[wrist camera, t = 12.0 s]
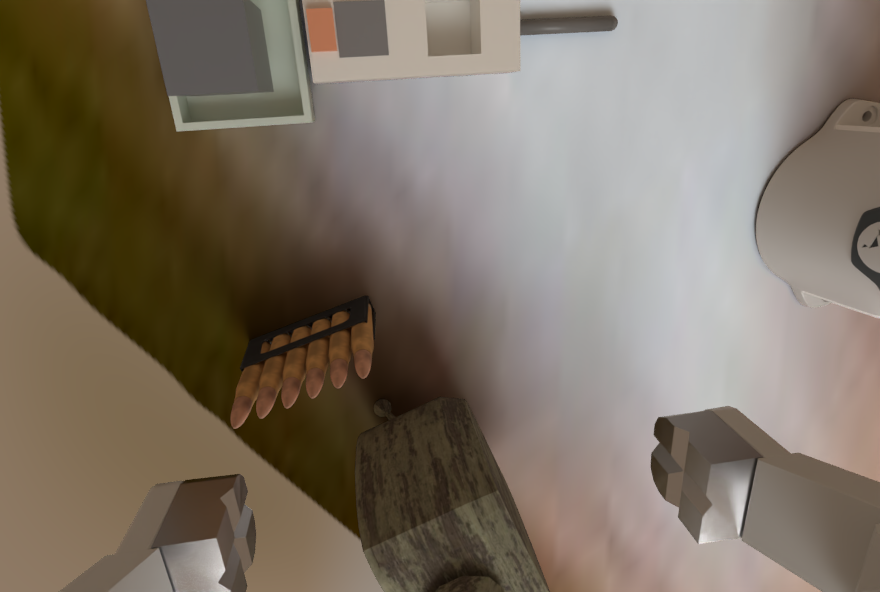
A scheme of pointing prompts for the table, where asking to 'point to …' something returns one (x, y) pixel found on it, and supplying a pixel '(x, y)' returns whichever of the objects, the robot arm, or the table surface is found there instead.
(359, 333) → the ammunition clip
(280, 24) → the parts tray
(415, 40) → the power strip
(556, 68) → the table surface
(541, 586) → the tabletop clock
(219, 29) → the block
